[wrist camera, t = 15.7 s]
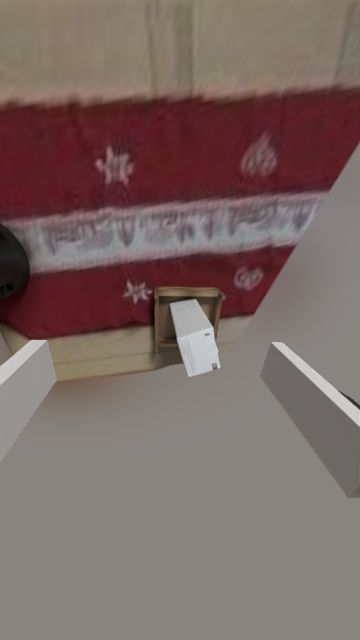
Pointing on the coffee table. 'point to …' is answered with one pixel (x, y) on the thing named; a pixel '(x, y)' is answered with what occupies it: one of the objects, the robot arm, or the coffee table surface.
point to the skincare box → (194, 337)
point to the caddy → (166, 295)
